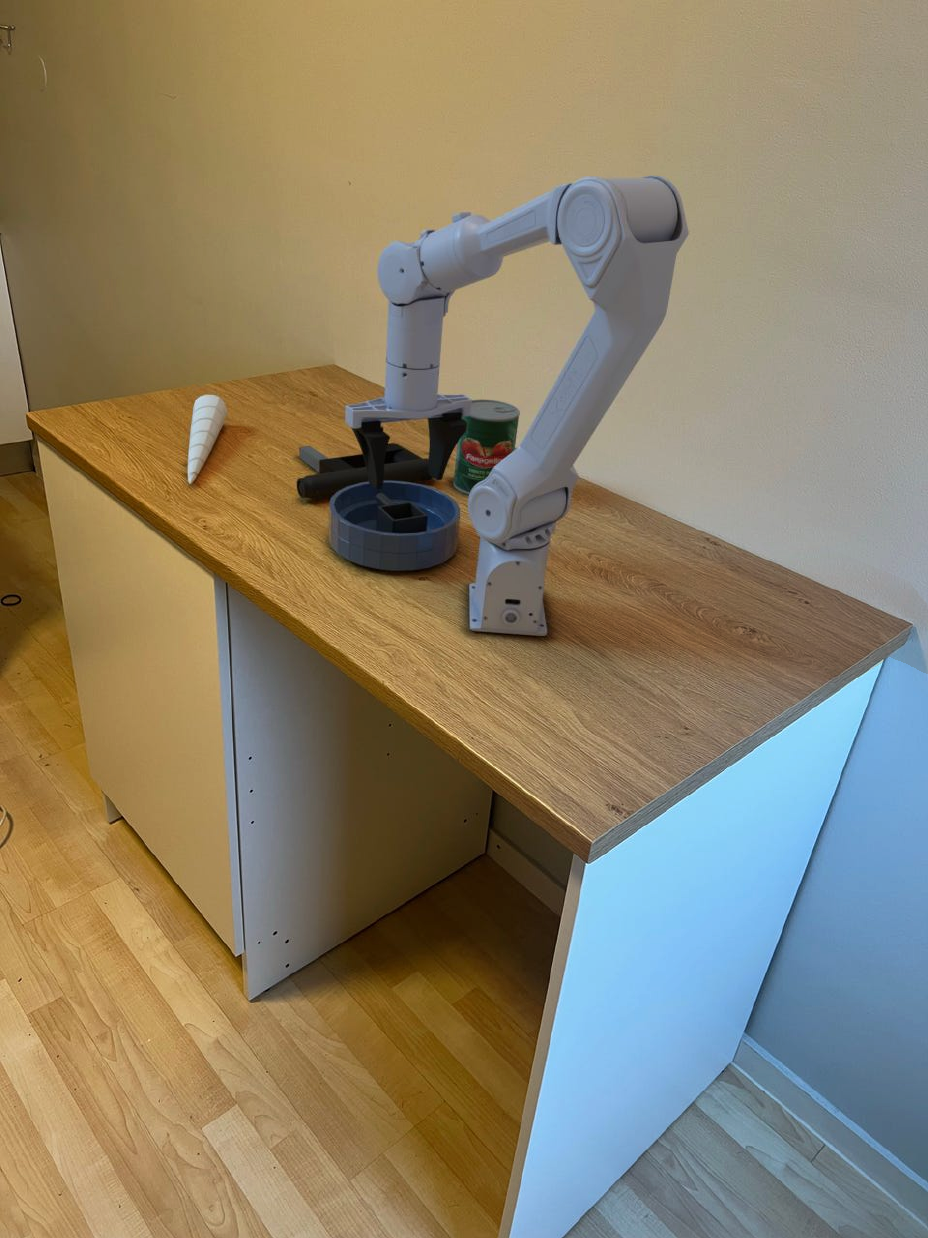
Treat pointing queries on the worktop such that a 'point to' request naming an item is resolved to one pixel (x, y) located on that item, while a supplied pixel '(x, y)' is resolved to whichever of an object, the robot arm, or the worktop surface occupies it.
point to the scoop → (399, 517)
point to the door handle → (357, 470)
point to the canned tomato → (484, 442)
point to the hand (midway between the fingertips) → (405, 481)
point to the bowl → (393, 551)
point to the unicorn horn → (204, 431)
